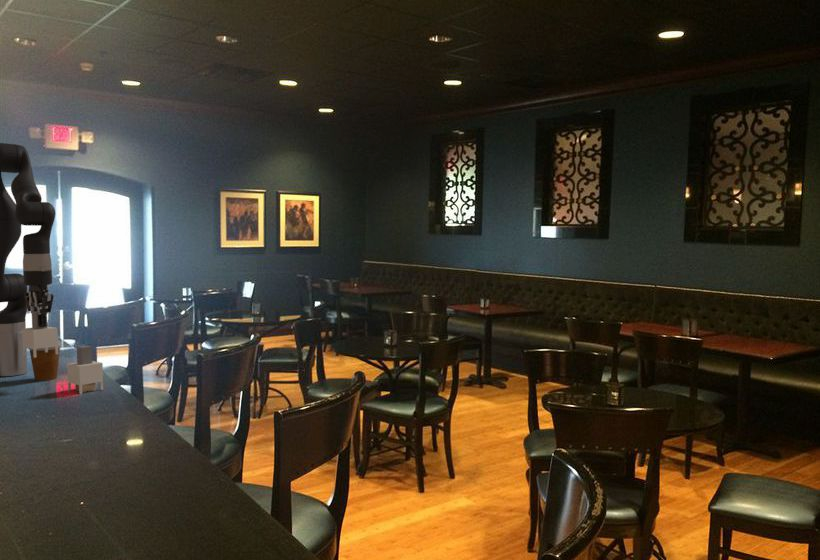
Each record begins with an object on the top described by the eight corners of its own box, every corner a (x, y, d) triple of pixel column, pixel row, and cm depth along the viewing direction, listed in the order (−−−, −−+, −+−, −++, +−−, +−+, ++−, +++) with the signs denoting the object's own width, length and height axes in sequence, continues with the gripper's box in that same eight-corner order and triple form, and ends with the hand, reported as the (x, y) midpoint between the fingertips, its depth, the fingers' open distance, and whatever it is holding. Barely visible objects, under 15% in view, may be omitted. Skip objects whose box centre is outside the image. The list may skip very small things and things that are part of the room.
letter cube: (75, 390, 204) (75, 377, 203) (88, 388, 207) (88, 374, 206) (82, 392, 201) (82, 378, 201) (95, 390, 204) (95, 376, 204)
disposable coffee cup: (37, 383, 213) (36, 345, 213) (23, 379, 219) (22, 342, 218) (68, 378, 221) (66, 341, 220) (53, 374, 227) (52, 338, 226)
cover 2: (67, 390, 203) (66, 347, 202) (90, 386, 209) (89, 344, 208) (80, 393, 199) (78, 349, 198) (103, 389, 205) (101, 346, 204)
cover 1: (23, 355, 206) (21, 312, 205) (46, 351, 212) (45, 309, 211) (34, 357, 202) (32, 313, 201) (58, 354, 208) (56, 311, 207)
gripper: (13, 269, 206) (15, 326, 207) (35, 270, 198) (38, 329, 199) (38, 267, 212) (41, 323, 213) (62, 269, 204) (64, 326, 205)
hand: (39, 326), depth 206 cm, fingers closed on cover 1, 3 cm apart
